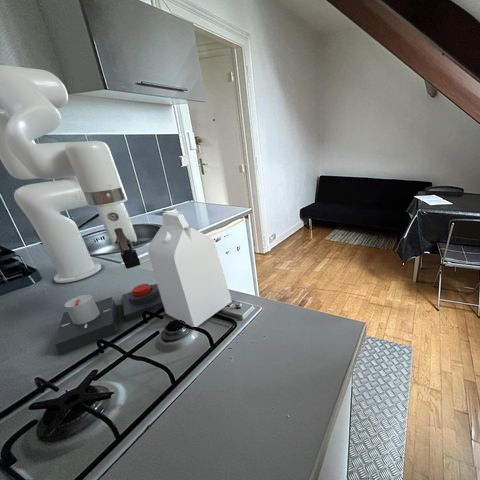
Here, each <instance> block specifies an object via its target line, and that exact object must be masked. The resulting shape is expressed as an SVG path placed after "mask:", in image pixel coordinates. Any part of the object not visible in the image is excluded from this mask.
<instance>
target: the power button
mask: <svg viewBox="0 0 480 480" xmlns="http://www.w3.org/2000/svg"><path fill="white" fill-rule="evenodd" d="M150 285H151V284H150V283H142V284H139V285H137V286H134V287H133V288H132V291H133V293H134V296H135V297H139V296H143V295H146V294H148V293H150V292H151V288H150Z"/></svg>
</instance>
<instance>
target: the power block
mask: <svg viewBox="0 0 480 480" xmlns="http://www.w3.org/2000/svg"><path fill="white" fill-rule="evenodd" d="M149 285H150V288H151V292H150V293H148V294H146V295H143V296H139V297H135V296H134V293H133V290H131V291H130V292H126V293H123V294H122V297H121V298H122V307H123V316H124V319H125V321H126V322H127V321H130V320H133V319H135V318H138V317H141V316H144V315H143V312H144V311H148V312H149V313H152V312H154V311H157V310H159V309H162V308H164V305H163V302H162V299H161V295H160V292H159V288H158V285H157V283H154V284H149Z"/></svg>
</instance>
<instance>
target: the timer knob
mask: <svg viewBox="0 0 480 480" xmlns="http://www.w3.org/2000/svg"><path fill="white" fill-rule="evenodd" d="M95 302H96V301H95V299H94V297H93V295H92V294H82V295H78V296H76V297H73V298H71V299H68V301H66V302H65V303H64V308H65V311H66V312H68V314H69V316H70V318H71V319H72V321H73V323H74V324H76V325H79V324H84V323H87V322H90V321H92V320H93V319H95V318H96V317H98V316H99V314H100V312H99V310H98V308H97V306H96V304H95Z"/></svg>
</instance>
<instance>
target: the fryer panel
mask: <svg viewBox="0 0 480 480" xmlns="http://www.w3.org/2000/svg"><path fill="white" fill-rule="evenodd" d="M95 304H96V306H97V308H98V310H99V312H100V314H99V316H98V317H96V318H95V319H93V320H92V321H90V322H87V323H84V324H79V325H76V324H74V323H73V321H72V319H71V318H70V316H69V314H68V312H67V311H65V312H63V314H62V316H61V320H60V325H59V328H58V332H57V336H56V340H55V343H54V346H55V347H56V349H57V351H58V353H59V354H60V355H61V356H63V355H65V354H68V353H70V352H73V351H76V350H78V349H81V348H83V347H86V346H88V345H91V344H94V343H96V342H98V341H97V340H99V341H101V340H104V339H106V338H109V337H111V336H115V335H117V334H118V323H117V321H118V319H117V305H116V303H115V300H114V298H113V296H111V297H107V298H105V299H102V300H98V301H95Z"/></svg>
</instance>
